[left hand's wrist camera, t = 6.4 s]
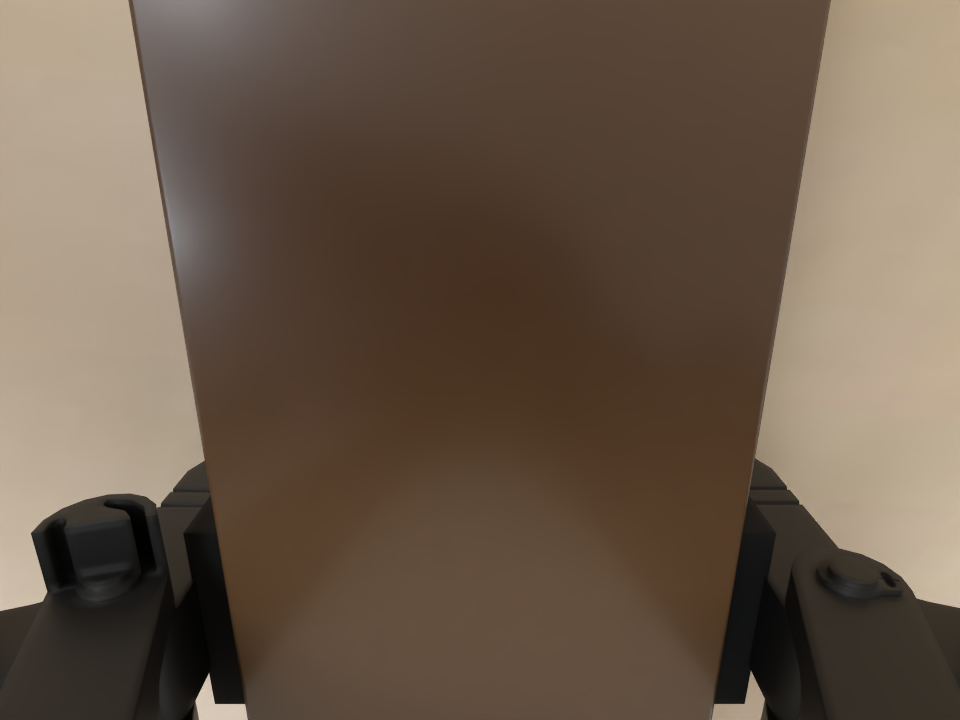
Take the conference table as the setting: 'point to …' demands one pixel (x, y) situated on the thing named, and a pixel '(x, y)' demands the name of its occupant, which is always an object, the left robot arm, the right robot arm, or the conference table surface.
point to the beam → (479, 335)
